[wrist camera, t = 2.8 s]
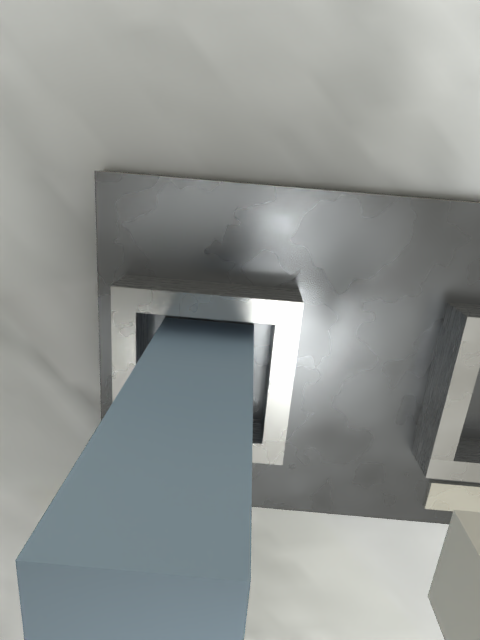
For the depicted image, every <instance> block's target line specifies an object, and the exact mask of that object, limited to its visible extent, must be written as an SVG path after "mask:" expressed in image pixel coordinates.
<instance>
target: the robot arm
mask: <svg viewBox="0 0 480 640" xmlns="http://www.w3.org/2000/svg"><path fill="white" fill-rule="evenodd" d="M428 598H429V600H430V603H431V605H432V608H433V611H434V613H435V616H436V619H437V621H438V624H439V626H440V629H441V632H442V634H443V637H444V639H445V640H480V512H472V511H461V510H453V514H452V517H451V520H450V524H449V527H448V530H447V534H446V537H445V540H444V544H443V547H442V550H441V554H440V557H439V560H438V564H437V567H436V570H435V573H434V577H433V580H432V583H431V587H430V590H429V593H428Z"/></svg>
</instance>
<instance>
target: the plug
mask: <svg viewBox="0 0 480 640" xmlns="http://www.w3.org/2000/svg"><path fill="white" fill-rule="evenodd" d="M253 367H254V325H248V324H237V323H225V322H213V321H202V320H190V319H179V318H167V317H165V318H164V320H163V322H162V323H161V325H160V326H159V328H158V330H157V331H156V333H155V335H154V336H153V338H152V339H151V341H150V343H149V344H148V346H147V348H146V349H145V351H144V352H143V354H142V356H141V357H140V359H139V361H138V362H137V364H136V365H135V367H134V369H133V370H132V372H131V374H130V375H129V377H128V378H127V380H126V382H125V383H124V385H123V387H122V388H121V390H120V391H119V393H118V395H117V396H116V398H115V400H114V401H113V403H112V404H111V406H110V408H109V409H108V411H107V413H106V414H105V416H104V417H103V419H102V421H101V422H100V424H99V426H98V427H97V429H96V430H95V432H94V434H93V435H92V437H91V439H90V440H89V442H88V443H87V445H86V447H85V448H84V450H83V452H82V453H81V455H80V457H79V458H78V460H77V461H76V463H75V465H74V466H73V468H72V470H71V471H70V473H69V474H68V476H67V478H66V479H65V481H64V483H63V484H62V486H61V487H60V489H59V491H58V492H57V494H56V496H55V497H54V499H53V500H52V502H51V504H50V505H49V507H48V509H47V510H46V512H45V513H44V515H43V517H42V518H41V520H40V522H39V523H38V525H37V526H36V528H35V530H34V531H33V533H32V535H31V536H30V538H29V539H28V541H27V543H26V544H25V546H24V548H23V549H22V551H21V552H20V554H19V556H18V557H17V559H16V569H17V578H18V587H19V596H20V605H21V613H22V622H23V631H24V640H244V634H245V625H246V616H247V608H248V599H249V590H250V582H251V510H252V439H253Z"/></svg>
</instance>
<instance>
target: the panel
mask: <svg viewBox="0 0 480 640" xmlns="http://www.w3.org/2000/svg"><path fill="white" fill-rule="evenodd" d="M95 197H96V235H97V272H98V310H99V348H100V385H101V421H102V419H103V417H104V416H105V414H106V413H107V411H108V409H109V408H110V406H111V404H112V403H113V401H114V400H115V398H116V396H117V395H118V393H119V391H120V390H121V388H122V387H123V385H124V383H125V382H126V380H127V378H128V377H129V375H130V374H131V372H132V370H133V369H134V367H135V365H136V364H137V362H138V361H139V359H140V357H141V356H142V354H143V352H144V351H145V349H146V348H147V346H148V344H149V343H150V341H151V339H152V338H153V336H154V335H155V333H156V331H157V330H158V328H159V326H160V325H161V323H162V322H163V320H164V318H165V317H167V318H179V319H190V320H202V321H213V322H225V323H237V324H248V325H254V367H253V439H252V507H262V508H273V509H284V510H295V511H307V512H318V513H329V514H340V515H352V516H363V517H374V518H385V519H396V520H408V521H419V522H430V523H441V524H450V520H451V517H452V514H453V510H461V511H472V512H480V202H470V201H458V200H446V199H434V198H422V197H410V196H398V195H386V194H374V193H362V192H350V191H339V190H327V189H315V188H303V187H291V186H279V185H267V184H255V183H243V182H231V181H219V180H207V179H195V178H184V177H172V176H160V175H148V174H136V173H124V172H112V171H95Z"/></svg>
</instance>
